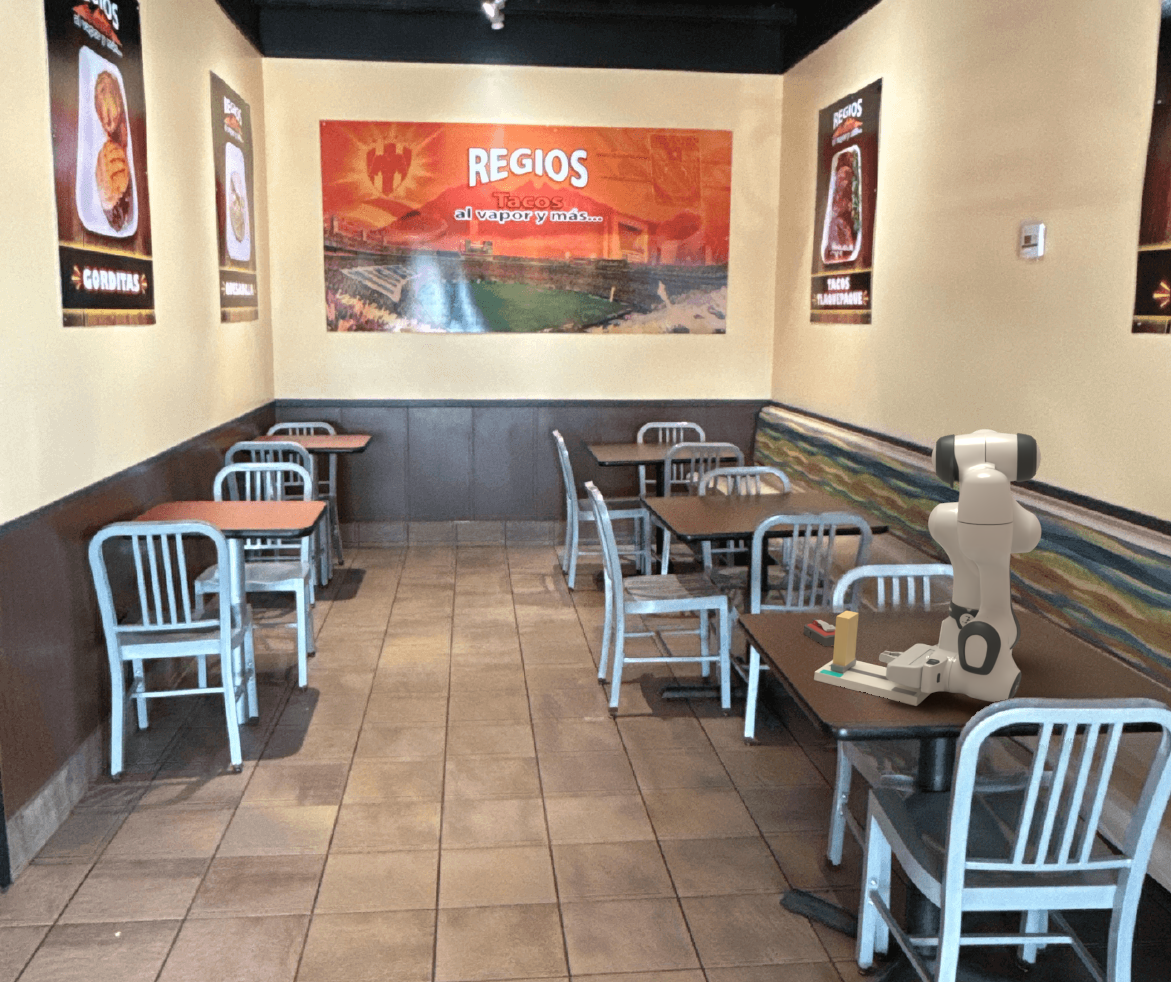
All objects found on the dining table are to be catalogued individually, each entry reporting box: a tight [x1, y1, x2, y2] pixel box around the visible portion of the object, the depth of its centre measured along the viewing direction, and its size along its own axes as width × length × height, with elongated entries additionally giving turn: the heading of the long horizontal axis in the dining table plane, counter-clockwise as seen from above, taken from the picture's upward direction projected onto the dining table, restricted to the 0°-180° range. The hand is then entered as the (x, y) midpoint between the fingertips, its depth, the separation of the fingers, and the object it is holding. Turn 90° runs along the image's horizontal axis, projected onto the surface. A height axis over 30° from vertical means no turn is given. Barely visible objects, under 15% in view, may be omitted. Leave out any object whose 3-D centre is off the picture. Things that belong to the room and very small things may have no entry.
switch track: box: [813, 659, 932, 707], centre depth 240 cm, size 14×24×2 cm, turn 54°
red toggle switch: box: [803, 617, 836, 647], centre depth 274 cm, size 9×4×20 cm
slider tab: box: [831, 610, 860, 673], centre depth 243 cm, size 8×3×13 cm, turn 144°
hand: (881, 655), depth 239 cm, fingers closed
